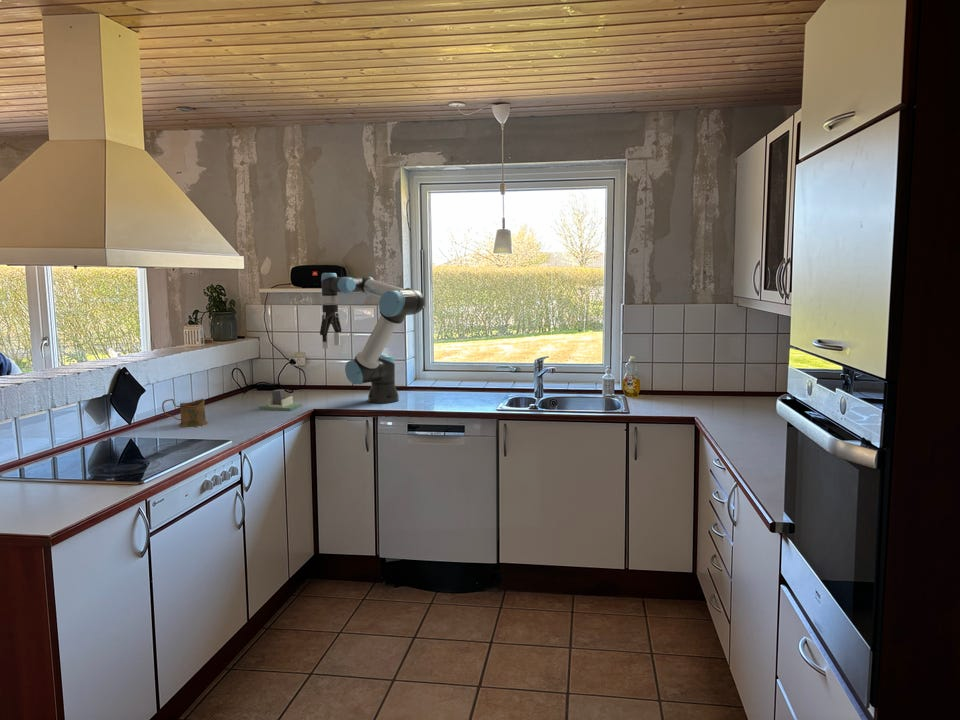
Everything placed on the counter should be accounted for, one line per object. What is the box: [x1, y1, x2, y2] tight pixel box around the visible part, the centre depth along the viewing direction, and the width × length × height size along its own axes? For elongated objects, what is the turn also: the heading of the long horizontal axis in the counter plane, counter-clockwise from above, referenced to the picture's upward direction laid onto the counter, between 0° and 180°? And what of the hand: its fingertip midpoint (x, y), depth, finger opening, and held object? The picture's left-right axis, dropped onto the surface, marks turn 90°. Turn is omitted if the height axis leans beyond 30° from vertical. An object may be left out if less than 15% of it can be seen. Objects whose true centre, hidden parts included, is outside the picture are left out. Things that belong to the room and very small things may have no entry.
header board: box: [258, 395, 303, 412], centre depth 339 cm, size 16×12×5 cm
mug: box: [161, 398, 209, 428], centre depth 302 cm, size 12×18×12 cm, turn 126°
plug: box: [271, 389, 286, 405], centre depth 339 cm, size 4×4×7 cm
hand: (331, 346), depth 356 cm, fingers open, 13 cm apart
